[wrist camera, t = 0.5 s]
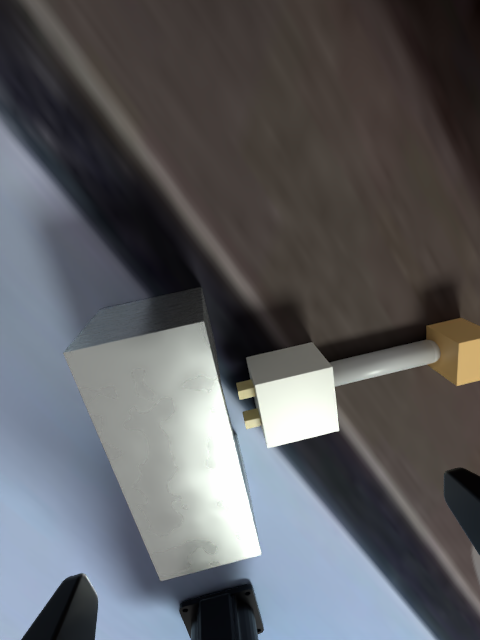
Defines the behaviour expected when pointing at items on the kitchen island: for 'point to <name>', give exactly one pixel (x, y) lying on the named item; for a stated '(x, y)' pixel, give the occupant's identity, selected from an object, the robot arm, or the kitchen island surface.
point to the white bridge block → (167, 430)
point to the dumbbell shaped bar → (344, 378)
